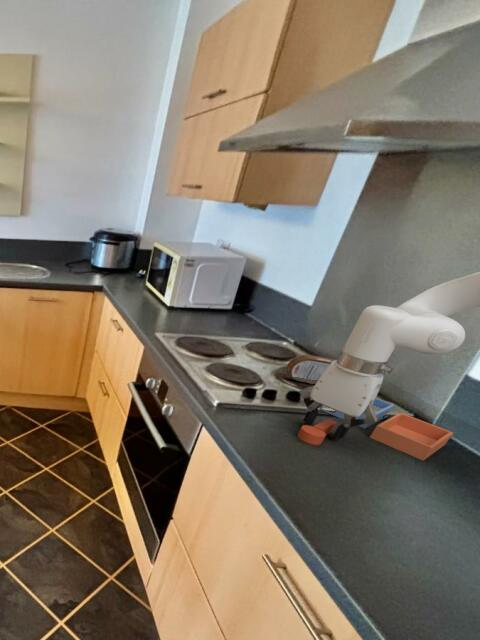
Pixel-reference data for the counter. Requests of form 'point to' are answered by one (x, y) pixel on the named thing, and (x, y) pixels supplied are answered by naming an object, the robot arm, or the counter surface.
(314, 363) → the tin
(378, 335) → the robot arm
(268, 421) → the counter surface
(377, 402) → the blue bin
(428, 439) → the terracotta bin
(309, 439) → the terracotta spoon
